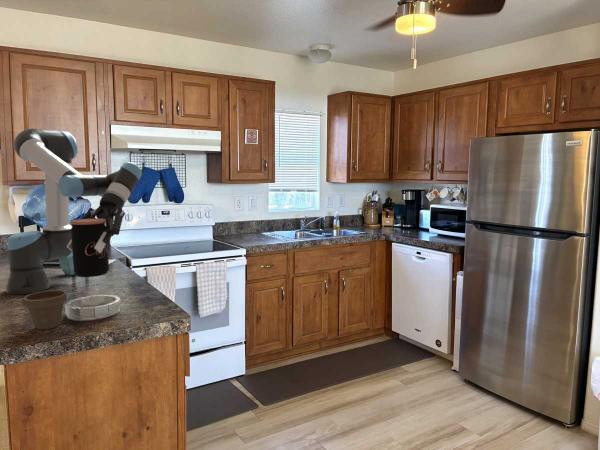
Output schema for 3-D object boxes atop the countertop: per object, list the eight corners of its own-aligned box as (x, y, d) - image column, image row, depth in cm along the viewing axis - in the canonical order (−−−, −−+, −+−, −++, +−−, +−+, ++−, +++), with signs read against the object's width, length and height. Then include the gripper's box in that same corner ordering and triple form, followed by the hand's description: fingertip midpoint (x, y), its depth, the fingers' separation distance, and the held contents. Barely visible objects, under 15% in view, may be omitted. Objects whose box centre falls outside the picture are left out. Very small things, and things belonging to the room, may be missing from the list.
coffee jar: (86, 279, 146) (83, 222, 144) (67, 275, 152) (63, 221, 150) (116, 272, 155) (112, 219, 153) (96, 269, 161) (93, 217, 159)
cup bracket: (55, 318, 150) (54, 306, 150) (93, 304, 165) (92, 293, 165) (95, 322, 145) (94, 310, 144) (130, 308, 160) (130, 297, 159)
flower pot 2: (87, 273, 218) (86, 254, 217) (69, 277, 211) (68, 257, 210) (76, 271, 223) (75, 253, 222) (59, 275, 216) (57, 256, 215)
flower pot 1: (23, 335, 134) (20, 301, 133) (27, 324, 144) (25, 292, 143) (68, 329, 139) (65, 296, 138) (68, 318, 149) (66, 288, 148)
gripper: (147, 206, 162) (118, 258, 149) (94, 205, 169) (63, 254, 156) (136, 191, 156) (105, 244, 143) (82, 191, 164) (48, 241, 151)
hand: (83, 249), depth 150 cm, fingers closed on coffee jar, 11 cm apart
